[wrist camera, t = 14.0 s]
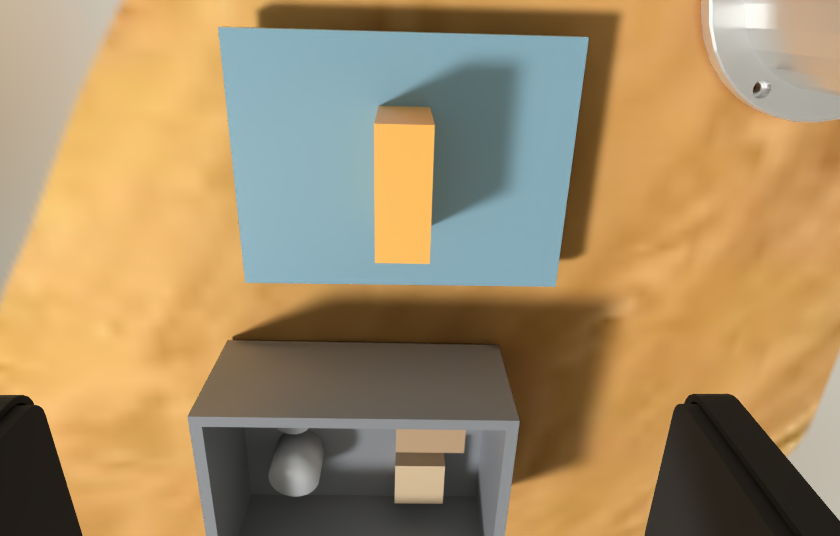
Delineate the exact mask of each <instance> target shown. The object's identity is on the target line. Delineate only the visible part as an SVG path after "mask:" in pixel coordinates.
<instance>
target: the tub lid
mask: <svg viewBox="0 0 840 536" xmlns="http://www.w3.org/2000/svg"><path fill="white" fill-rule="evenodd" d="M218 30H219V40H220V49H221V58H222V68H223V77H224V87H225V96H226V106H227V115H228V125H229V134H230V143H231V153H232V162H233V172H234V181H235V191H236V200H237V209H238V219H239V228H240V238H241V247H242V257H243V266H244V275H245V283H310V284H388V285H466V286H544V287H556V279H557V272H558V264H559V257H560V249H561V242H562V235H563V227H564V220H565V212H566V205H567V197H568V190H569V182H570V175H571V167H572V160H573V153H574V145H575V138H576V130H577V123H578V115H579V108H580V100H581V93H582V85H583V78H584V70H585V63H586V56H587V48H588V41H589V37H585V36H552V35H515V34H479V33H442V32H405V31H368V30H331V29H295V28H258V27H218Z"/></svg>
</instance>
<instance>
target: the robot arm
mask: <svg viewBox="0 0 840 536" xmlns="http://www.w3.org/2000/svg"><path fill="white" fill-rule="evenodd" d="M701 22H702V32H703V40H704V43H705V46H706V49H707V53H708V56H709V59H710V62H711V64H712V66H713V67H714V69H715V71H716V73H717V74H718V76H719V78H720V80H721V82H722V83H723V84H724V85H725V86H726V87H727V88H728V89H729V90H730V91H731V92H732V93H733V95H734V96H735V97H736V98H738V99H739V100H741V101H742V102H744V103H745V104H747V105H748V106H750V107H751V108H753V109H754V110H757V111H760V112H762V113H765V114H768V115H770V116H773V117H777V118H781V119H785V120H789V121H793V122H814V123H819V122H826V121H832V120H838V119H840V0H702V1H701ZM755 84H756V88H755V90H754V91H753V88H754V86H755ZM0 536H82V532H81V529H80V526H79V523H78V519H77V516H76V513H75V510H74V506H73V503H72V500H71V496H70V493H69V490H68V487H67V483H66V480H65V477H64V474H63V470H62V467H61V464H60V461H59V457H58V454H57V451H56V448H55V444H54V441H53V438H52V435H51V431H50V428H49V425H48V422H47V418H46V415H45V413H44V410H43V409H42V408H41V407H40V406H37V405H34V403H33V401H32V400H31V399H30V398H29V397H28V396H24V395H0ZM645 536H840V521H839V520H838V519H837V517H836V516H835V515H834V514H833V513H832V511H831V510H830V509H829V508H828V507H827V506H826V504H825V503H824V502H823V501H822V499H821V498H820V497H819V496H818V495H817V494H816V492H815V491H814V490H813V489H812V487H811V486H810V485H809V484H808V483H807V481H806V480H805V479H804V478H803V477H802V475H801V474H800V473H799V472H798V471H797V470H796V468H795V467H794V466H793V465H792V464H791V462H790V461H789V460H788V459H787V458H786V456H785V455H784V454H783V453H782V452H781V450H780V449H779V448H778V447H777V446H776V444H775V443H774V442H773V441H772V440H771V438H770V437H769V436H768V435H767V434H766V432H765V431H764V430H763V429H762V428H761V427H760V425H759V424H758V423H757V422H756V421H755V419H754V418H753V417H752V416H751V415H750V413H749V412H748V411H747V410H746V409H745V407H744V406H743V405H742V404H741V403H740V401H739V400H738V399H737V398H736V397H734V396H733V395H730V394H692V395H689V396H688V397H687V399H686V401H685V403H684V404H678V405H677V406H676V407H675V409H674V412H673V416H672V420H671V424H670V429H669V433H668V437H667V441H666V446H665V450H664V454H663V458H662V463H661V467H660V471H659V475H658V480H657V484H656V488H655V492H654V497H653V501H652V505H651V509H650V514H649V518H648V522H647V526H646V531H645Z"/></svg>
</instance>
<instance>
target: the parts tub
mask: <svg viewBox="0 0 840 536" xmlns="http://www.w3.org/2000/svg"><path fill="white" fill-rule="evenodd" d="M188 422H189V429H190V435H191V441H192V448H193V454H194V461H195V467H196V474H197V480H198V486H199V493H200V499H201V506H202V512H203V519H204V525H205V531H206V536H505V530H506V522H507V515H508V507H509V499H510V492H511V484H512V476H513V469H514V461H515V453H516V446H517V438H518V431H519V423H520V420H519V416H518V413H517V409H516V406H515V402H514V398H513V395H512V391H511V388H510V384H509V380H508V377H507V373H506V370H505V366H504V362H503V359H502V355H501V352H500V348H499V345H468V344H412V343H356V342H300V341H243V340H228V341H227V343H226V344H225V346H224V348H223V350H222V352H221V354H220V356H219V358H218V360H217V362H216V364H215V365H214V367H213V369H212V371H211V373H210V375H209V377H208V379H207V381H206V383H205V384H204V386H203V388H202V390H201V392H200V394H199V396H198V398H197V400H196V402H195V404H194V405H193V407H192V409H191V411H190V413H189V415H188Z"/></svg>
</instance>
